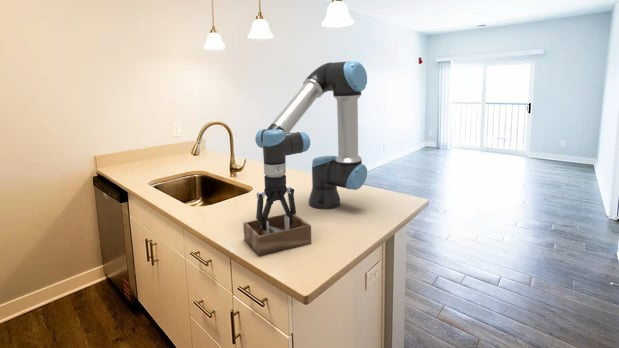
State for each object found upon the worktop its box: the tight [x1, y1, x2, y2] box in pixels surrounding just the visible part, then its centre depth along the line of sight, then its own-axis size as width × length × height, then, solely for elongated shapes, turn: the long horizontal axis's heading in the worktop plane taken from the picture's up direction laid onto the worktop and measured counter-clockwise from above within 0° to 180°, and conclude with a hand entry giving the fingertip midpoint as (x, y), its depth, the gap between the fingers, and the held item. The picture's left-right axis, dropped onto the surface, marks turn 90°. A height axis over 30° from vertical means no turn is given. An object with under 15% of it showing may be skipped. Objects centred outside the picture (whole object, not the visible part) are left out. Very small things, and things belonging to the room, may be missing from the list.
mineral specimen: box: [261, 225, 284, 235], centre depth 127 cm, size 6×12×4 cm, turn 44°
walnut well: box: [243, 213, 312, 258], centre depth 127 cm, size 15×20×7 cm
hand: (277, 235), depth 127 cm, fingers closed on mineral specimen, 7 cm apart
